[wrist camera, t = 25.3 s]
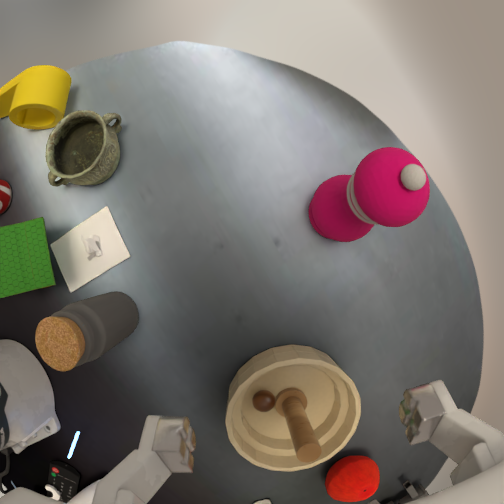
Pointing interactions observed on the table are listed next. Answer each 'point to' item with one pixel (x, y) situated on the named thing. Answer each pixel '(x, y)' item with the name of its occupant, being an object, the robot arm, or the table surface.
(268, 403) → the hazelnut
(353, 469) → the apple
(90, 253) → the adhesive hook
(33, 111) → the crank
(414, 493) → the soap dispenser
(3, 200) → the soda can
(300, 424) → the muddler
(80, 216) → the table surface
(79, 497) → the cup
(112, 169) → the vessel
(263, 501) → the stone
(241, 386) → the bowl
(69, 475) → the remote control
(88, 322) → the bottle
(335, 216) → the pepper mill
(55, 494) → the ornament
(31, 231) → the cuckoo clock
